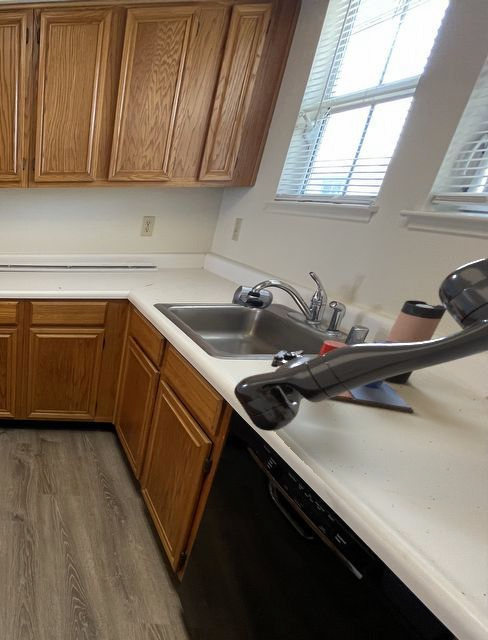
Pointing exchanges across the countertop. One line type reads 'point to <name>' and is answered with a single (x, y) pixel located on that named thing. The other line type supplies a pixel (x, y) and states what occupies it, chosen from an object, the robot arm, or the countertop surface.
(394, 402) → the sorting board
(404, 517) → the countertop surface
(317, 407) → the countertop surface
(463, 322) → the robot arm
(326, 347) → the cylinder
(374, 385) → the cylinder
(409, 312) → the travel mug
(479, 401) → the countertop surface
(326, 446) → the countertop surface
